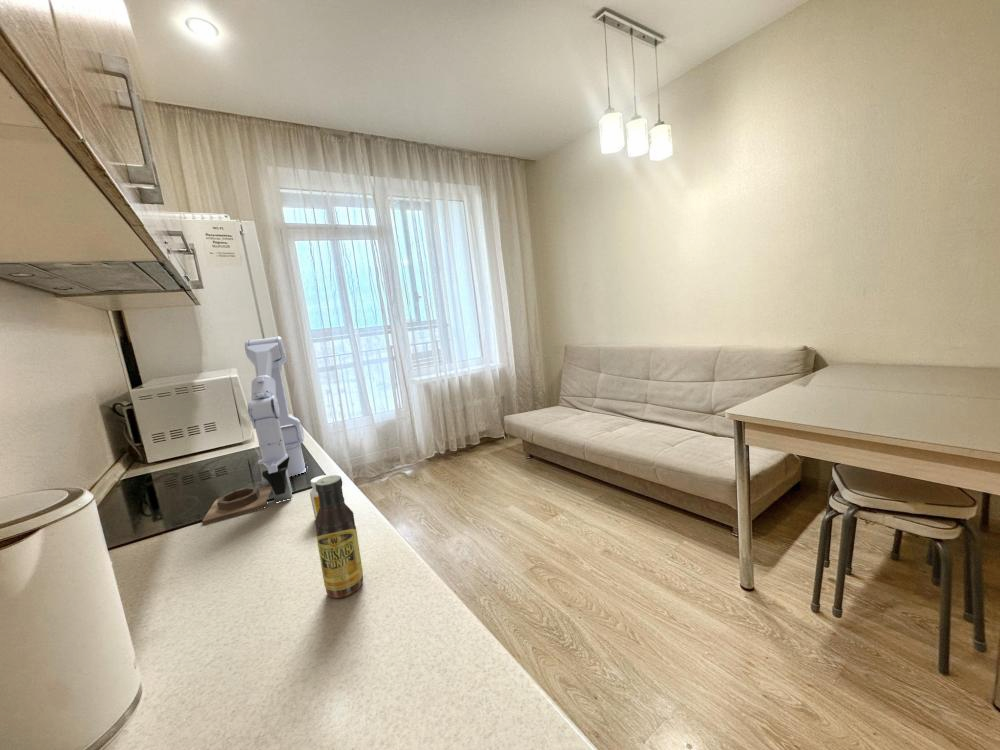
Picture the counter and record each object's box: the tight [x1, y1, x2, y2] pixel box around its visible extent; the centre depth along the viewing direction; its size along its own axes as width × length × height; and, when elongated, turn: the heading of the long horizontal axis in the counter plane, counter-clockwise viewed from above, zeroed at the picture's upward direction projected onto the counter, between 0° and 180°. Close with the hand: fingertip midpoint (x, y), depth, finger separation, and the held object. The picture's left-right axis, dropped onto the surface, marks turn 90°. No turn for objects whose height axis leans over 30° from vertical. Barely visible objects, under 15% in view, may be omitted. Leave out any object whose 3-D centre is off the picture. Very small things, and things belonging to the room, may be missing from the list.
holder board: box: [201, 485, 272, 526], centre depth 107 cm, size 14×14×3 cm
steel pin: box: [271, 470, 293, 504], centre depth 107 cm, size 4×4×8 cm
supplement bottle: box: [309, 474, 328, 520], centre depth 94 cm, size 5×5×10 cm
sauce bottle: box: [314, 474, 364, 599], centre depth 66 cm, size 7×6×20 cm
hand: (282, 489), depth 107 cm, fingers open, 6 cm apart
